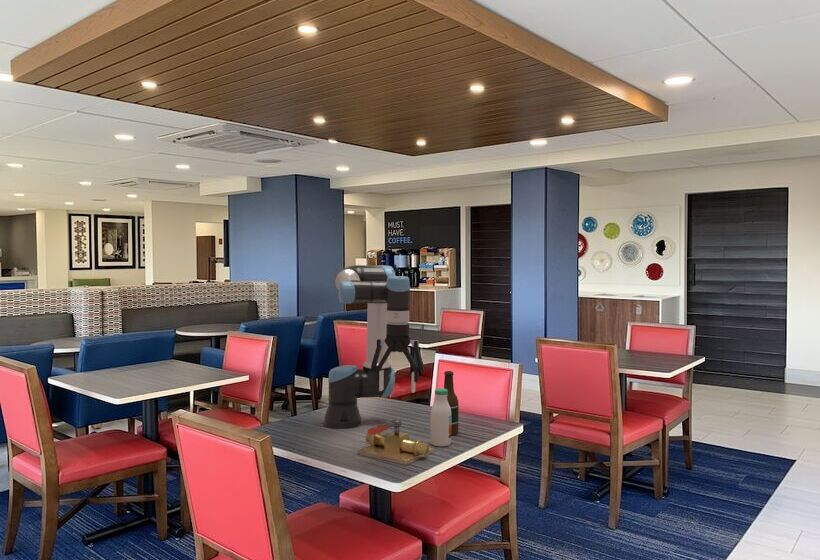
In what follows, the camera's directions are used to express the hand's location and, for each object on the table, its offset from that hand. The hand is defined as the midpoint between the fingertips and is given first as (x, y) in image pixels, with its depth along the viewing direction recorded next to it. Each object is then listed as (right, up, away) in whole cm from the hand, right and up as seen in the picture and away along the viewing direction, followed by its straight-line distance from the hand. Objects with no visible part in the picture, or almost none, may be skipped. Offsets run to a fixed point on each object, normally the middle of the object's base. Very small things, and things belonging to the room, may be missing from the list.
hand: (397, 391), depth 205 cm
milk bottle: (+15, -23, +23) cm, 36 cm away
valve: (0, -23, +12) cm, 26 cm away
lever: (-4, -14, +6) cm, 16 cm away
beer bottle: (+19, -23, +37) cm, 48 cm away
